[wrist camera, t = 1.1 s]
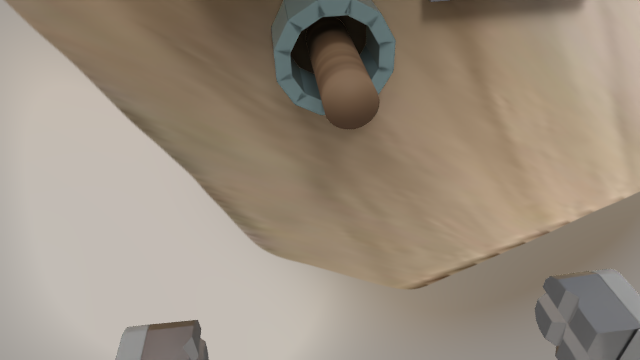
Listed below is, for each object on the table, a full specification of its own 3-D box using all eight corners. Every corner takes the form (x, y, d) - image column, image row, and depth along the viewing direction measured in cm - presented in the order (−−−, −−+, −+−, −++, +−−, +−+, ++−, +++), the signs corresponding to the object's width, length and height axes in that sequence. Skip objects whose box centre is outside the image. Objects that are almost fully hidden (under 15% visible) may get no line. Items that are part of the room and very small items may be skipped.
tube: (266, -16, 35) (268, 3, 31) (382, -24, 36) (398, -7, 32) (277, 91, 41) (280, 119, 37) (377, 82, 41) (390, 108, 37)
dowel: (304, 17, 37) (323, 81, 28) (347, 14, 37) (380, 76, 28) (306, 59, 39) (324, 131, 30) (347, 55, 39) (378, 126, 30)
